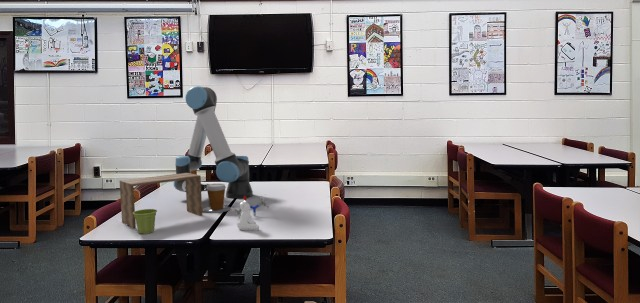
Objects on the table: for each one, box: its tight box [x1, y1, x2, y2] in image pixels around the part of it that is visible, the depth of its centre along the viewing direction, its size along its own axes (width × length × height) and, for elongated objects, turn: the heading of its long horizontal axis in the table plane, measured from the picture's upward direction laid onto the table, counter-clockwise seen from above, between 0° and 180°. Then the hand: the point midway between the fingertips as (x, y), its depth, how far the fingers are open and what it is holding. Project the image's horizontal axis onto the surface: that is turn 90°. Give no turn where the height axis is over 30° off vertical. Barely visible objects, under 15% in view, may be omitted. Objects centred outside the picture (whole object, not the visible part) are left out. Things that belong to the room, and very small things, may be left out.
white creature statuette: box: [236, 199, 260, 231], centre depth 191 cm, size 10×9×12 cm
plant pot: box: [133, 208, 158, 235], centre depth 189 cm, size 9×9×9 cm
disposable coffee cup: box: [206, 183, 227, 210], centre depth 229 cm, size 10×10×12 cm
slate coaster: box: [202, 205, 232, 214], centre depth 229 cm, size 14×14×1 cm
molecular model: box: [230, 195, 270, 220], centre depth 213 cm, size 18×8×10 cm, turn 111°
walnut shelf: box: [119, 172, 203, 229], centre depth 211 cm, size 14×32×19 cm, turn 132°
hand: (212, 191), depth 231 cm, fingers open, 13 cm apart
